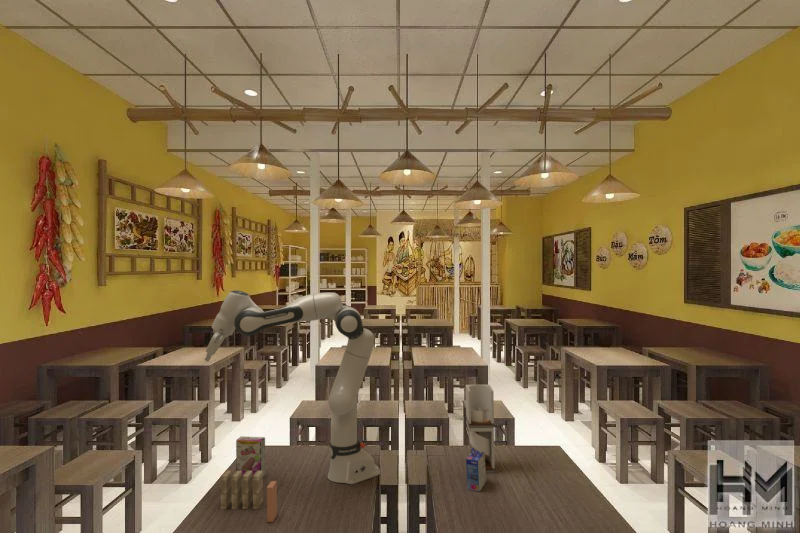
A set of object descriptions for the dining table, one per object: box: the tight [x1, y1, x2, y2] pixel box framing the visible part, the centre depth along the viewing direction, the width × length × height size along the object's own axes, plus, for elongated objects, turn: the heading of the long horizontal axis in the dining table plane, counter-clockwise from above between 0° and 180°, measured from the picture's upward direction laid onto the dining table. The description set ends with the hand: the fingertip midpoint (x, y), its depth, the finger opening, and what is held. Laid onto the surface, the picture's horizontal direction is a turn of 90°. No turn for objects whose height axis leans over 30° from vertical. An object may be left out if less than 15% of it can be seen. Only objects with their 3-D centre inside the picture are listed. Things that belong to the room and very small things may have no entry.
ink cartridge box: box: [465, 448, 487, 492], centre depth 192 cm, size 10×6×14 cm, turn 155°
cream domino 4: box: [252, 471, 264, 510], centre depth 178 cm, size 2×5×12 cm, turn 178°
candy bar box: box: [235, 435, 266, 480], centre depth 203 cm, size 11×5×16 cm, turn 84°
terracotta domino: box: [266, 480, 278, 523], centre depth 169 cm, size 2×5×12 cm, turn 178°
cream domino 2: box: [231, 470, 243, 510], centre depth 179 cm, size 2×5×12 cm, turn 178°
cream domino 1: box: [220, 470, 232, 510], centre depth 179 cm, size 2×5×12 cm, turn 178°
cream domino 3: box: [242, 471, 253, 510], centre depth 178 cm, size 2×5×12 cm, turn 178°
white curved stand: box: [465, 384, 496, 474], centre depth 209 cm, size 11×11×35 cm
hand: (209, 357), depth 196 cm, fingers open, 8 cm apart
